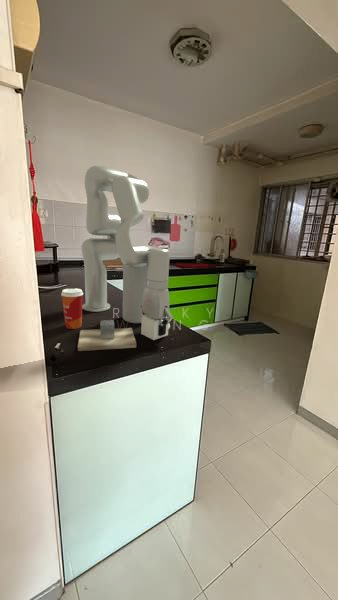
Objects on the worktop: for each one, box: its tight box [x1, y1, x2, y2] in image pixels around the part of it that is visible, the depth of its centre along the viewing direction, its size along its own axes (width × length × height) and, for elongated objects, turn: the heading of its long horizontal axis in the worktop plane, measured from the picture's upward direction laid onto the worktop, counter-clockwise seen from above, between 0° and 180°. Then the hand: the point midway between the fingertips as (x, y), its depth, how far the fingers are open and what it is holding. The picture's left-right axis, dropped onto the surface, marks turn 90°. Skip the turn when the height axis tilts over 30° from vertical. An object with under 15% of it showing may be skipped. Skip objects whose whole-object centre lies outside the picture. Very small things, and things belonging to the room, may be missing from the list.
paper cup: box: [60, 287, 84, 330], centre depth 94 cm, size 8×8×14 cm
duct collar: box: [140, 315, 171, 341], centre depth 93 cm, size 7×10×7 cm
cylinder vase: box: [122, 263, 147, 324], centre depth 105 cm, size 12×12×25 cm
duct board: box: [77, 327, 137, 352], centre depth 86 cm, size 13×18×2 cm
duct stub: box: [99, 319, 115, 339], centre depth 85 cm, size 4×4×5 cm
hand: (154, 331), depth 93 cm, fingers closed on duct collar, 7 cm apart
